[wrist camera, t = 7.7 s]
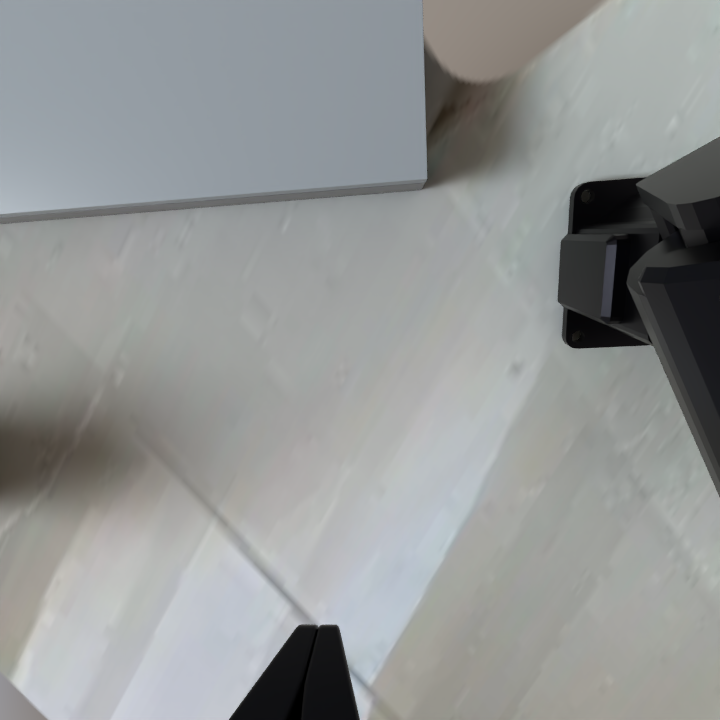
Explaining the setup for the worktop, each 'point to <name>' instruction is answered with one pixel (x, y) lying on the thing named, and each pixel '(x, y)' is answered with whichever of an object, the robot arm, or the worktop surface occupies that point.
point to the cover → (206, 100)
